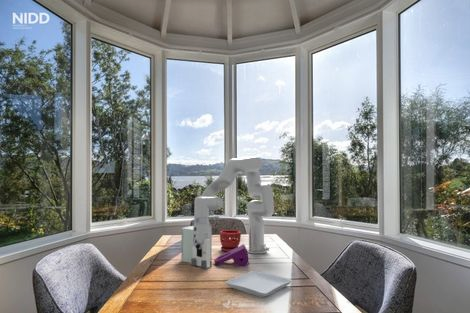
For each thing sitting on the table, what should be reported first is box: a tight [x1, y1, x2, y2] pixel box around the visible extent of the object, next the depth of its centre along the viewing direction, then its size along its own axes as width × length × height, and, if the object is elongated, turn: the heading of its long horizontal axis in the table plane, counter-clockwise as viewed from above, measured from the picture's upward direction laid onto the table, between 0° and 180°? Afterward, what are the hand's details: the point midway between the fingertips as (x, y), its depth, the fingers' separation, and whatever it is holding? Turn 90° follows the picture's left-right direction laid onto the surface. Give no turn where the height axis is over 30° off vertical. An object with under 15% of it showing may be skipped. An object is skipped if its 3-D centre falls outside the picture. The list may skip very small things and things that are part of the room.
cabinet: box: [180, 225, 213, 264], centre depth 177 cm, size 10×14×18 cm
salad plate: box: [224, 270, 293, 298], centre depth 134 cm, size 21×21×3 cm
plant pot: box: [219, 229, 242, 253], centre depth 198 cm, size 13×13×12 cm
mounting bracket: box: [213, 243, 250, 268], centre depth 169 cm, size 9×8×18 cm
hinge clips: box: [190, 258, 213, 270], centre depth 164 cm, size 9×5×4 cm, turn 55°
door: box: [193, 239, 211, 269], centre depth 164 cm, size 10×3×14 cm, turn 54°
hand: (201, 255), depth 164 cm, fingers closed on door, 2 cm apart
